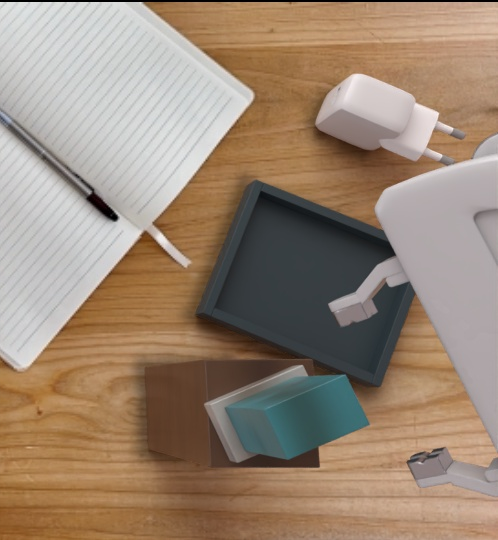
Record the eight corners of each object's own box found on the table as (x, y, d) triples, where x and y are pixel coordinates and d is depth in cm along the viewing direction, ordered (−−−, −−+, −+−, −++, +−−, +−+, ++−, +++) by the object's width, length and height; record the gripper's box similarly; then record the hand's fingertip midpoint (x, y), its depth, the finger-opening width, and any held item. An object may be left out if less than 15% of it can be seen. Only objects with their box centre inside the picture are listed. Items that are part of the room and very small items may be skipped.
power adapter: (446, 136, 76) (487, 115, 70) (426, 185, 75) (466, 168, 70) (327, 86, 77) (357, 61, 71) (306, 134, 77) (335, 113, 71)
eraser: (294, 365, 56) (354, 360, 48) (321, 422, 56) (387, 427, 47) (203, 403, 56) (247, 406, 48) (229, 461, 56) (279, 474, 47)
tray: (417, 253, 75) (431, 249, 72) (367, 387, 73) (380, 387, 71) (246, 185, 76) (255, 178, 74) (194, 315, 75) (202, 312, 72)
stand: (226, 366, 74) (313, 358, 56) (230, 449, 73) (320, 468, 55) (144, 366, 74) (205, 359, 57) (147, 449, 73) (210, 467, 56)
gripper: (556, 103, 38) (270, 231, 47) (805, 551, 35) (446, 590, 44) (575, 99, 42) (310, 216, 52) (798, 495, 39) (473, 541, 49)
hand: (374, 391), depth 48 cm, fingers open, 8 cm apart
